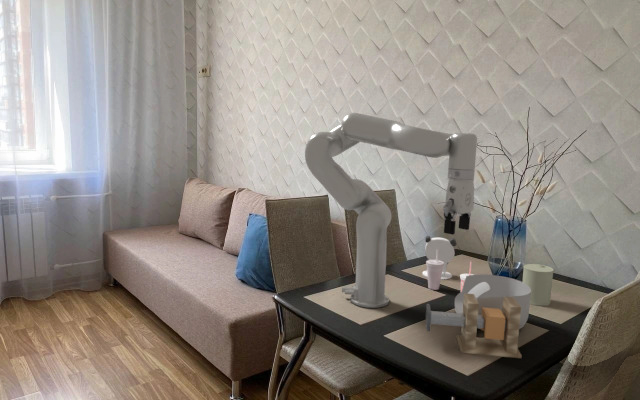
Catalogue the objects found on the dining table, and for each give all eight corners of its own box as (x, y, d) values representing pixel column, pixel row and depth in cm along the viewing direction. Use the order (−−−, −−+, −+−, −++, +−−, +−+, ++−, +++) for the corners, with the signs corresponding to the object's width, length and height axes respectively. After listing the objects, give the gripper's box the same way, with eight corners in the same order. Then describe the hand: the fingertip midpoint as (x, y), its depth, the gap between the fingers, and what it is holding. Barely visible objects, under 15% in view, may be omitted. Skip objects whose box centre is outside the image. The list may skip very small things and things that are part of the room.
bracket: (460, 352, 112) (464, 303, 111) (456, 338, 120) (459, 292, 118) (521, 358, 110) (526, 308, 108) (512, 343, 118) (517, 296, 116)
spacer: (484, 338, 112) (486, 316, 111) (480, 328, 118) (482, 307, 117) (503, 340, 111) (505, 317, 111) (498, 330, 117) (500, 309, 116)
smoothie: (444, 291, 157) (447, 252, 154) (426, 290, 157) (428, 252, 155) (440, 285, 163) (442, 248, 161) (422, 284, 163) (424, 247, 161)
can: (554, 300, 150) (557, 266, 148) (545, 308, 143) (549, 272, 141) (525, 293, 156) (528, 260, 154) (516, 300, 149) (519, 266, 148)
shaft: (427, 330, 114) (428, 312, 113) (425, 321, 120) (426, 303, 119) (518, 339, 111) (520, 320, 110) (512, 328, 116) (514, 310, 116)
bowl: (536, 341, 120) (540, 299, 118) (462, 334, 123) (465, 293, 121) (516, 312, 140) (519, 276, 138) (453, 307, 143) (455, 271, 141)
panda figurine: (452, 272, 179) (455, 235, 177) (454, 281, 168) (457, 242, 166) (422, 269, 182) (424, 233, 179) (422, 278, 171) (424, 240, 169)
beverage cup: (460, 297, 151) (463, 257, 149) (479, 301, 148) (482, 260, 146) (456, 303, 145) (459, 262, 143) (475, 307, 142) (478, 265, 140)
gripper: (459, 177, 123) (455, 238, 126) (485, 174, 136) (480, 229, 138) (435, 175, 128) (431, 233, 131) (461, 172, 141) (457, 225, 143)
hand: (456, 231), depth 134 cm, fingers open, 9 cm apart
